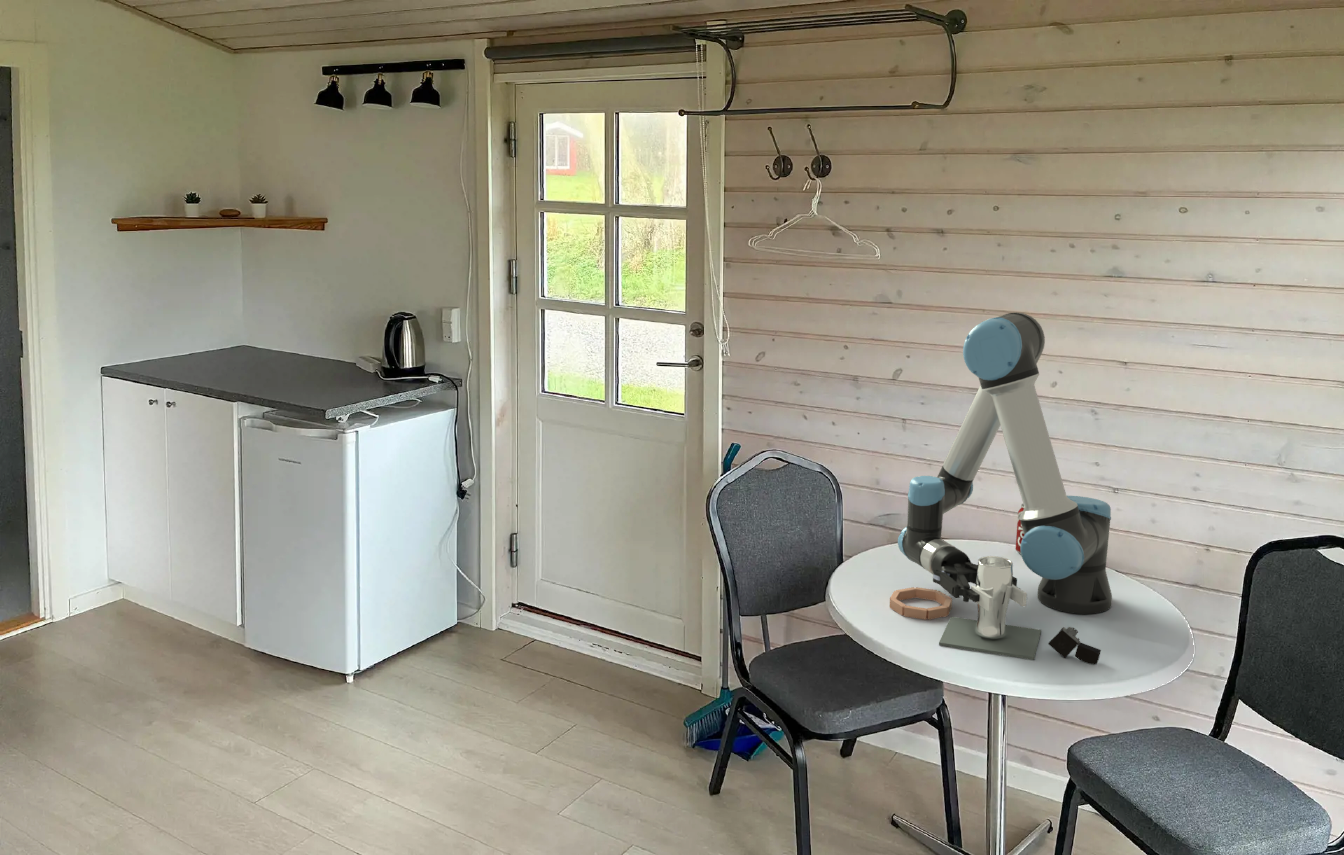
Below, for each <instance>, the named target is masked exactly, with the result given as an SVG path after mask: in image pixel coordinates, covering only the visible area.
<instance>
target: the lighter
mask: <svg viewBox="0 0 1344 855" xmlns="http://www.w3.org/2000/svg"><path fill="white" fill-rule="evenodd" d="M1078 633H1079V631H1078V630H1077V629H1076V628H1075V627H1072V626H1068V627H1067V628H1066V627H1064V626H1063V627H1061V629H1060V630H1059V631H1058V632H1057V634H1056V635H1055V636H1054V637H1053V638H1052V639H1050V641H1049V642H1048V643H1047V645H1049V646H1050V647H1051V648H1052V649H1053V650H1054V651H1056V652H1057V653H1058V654H1059V655H1060V656H1061V657H1063V658H1064V659H1066V658H1067V657H1068V656H1069V655H1070V653H1072V651H1073V650H1075V649H1076V651H1075V654H1074V657H1075V658H1076V659H1078V660H1079V661H1080V662H1083V663H1086V664H1089V665H1097V663H1098V662H1099V658H1100V655H1101V652H1102V650H1101V649H1099V648H1096V647H1094V646H1092V645H1088V644H1087V643H1083V642H1081V640H1080V638H1079V637H1077V635H1078Z"/></svg>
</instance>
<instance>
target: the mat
mask: <svg viewBox="0 0 1344 855" xmlns="http://www.w3.org/2000/svg"><path fill="white" fill-rule="evenodd" d="M976 623H977V619H972V618H971V619H970V618H964V617H963V618H962V617H957V616H950V618H949V620H948V622H947V625H946V626H945V628H944V631H943V633H942V635H941V637H940V639H939V642H938V646H940V647H942V646H943V647H946V648H947V647H948V648H952V649H953V648H954V649H961V650H966V651H967V650H968V651H972V652H973V651H974V652H980V653H985V654H986V653H987V654H993V655H999V656H1004V657H1012V658H1018V659H1025V660H1031V661H1035V657H1036V653H1037V649H1038V645H1039V642H1040V637H1041V634H1042V629H1038V628H1032V627H1024V626H1018V625H1012V624H1011V625H1010V624H1006V636H1005V637H1003V638H999V639H990V638H985V637H982V636H979V635H978V634H976V632H975V627H976Z"/></svg>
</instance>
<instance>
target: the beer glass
mask: <svg viewBox="0 0 1344 855" xmlns="http://www.w3.org/2000/svg"><path fill="white" fill-rule="evenodd" d="M977 561H978V562H977V565H978V567H977V574H976V584H975V586H976V587H977V588H979V589H981V590H982V591H984V592H985V593H987V594H988V595H990V596H991V597H993V604H992V611H988V610H986V609H985V608H983V607H982V606H980V605H979V604H977V603H976V604H977V619H976V620H977V623H976V627H975V632H976V634H978V635H979V636H982V637H985V638H990V639H999V638H1003V637H1005V636H1006V625H1007V624H1006V618H1007V617H1006V616H1007V610H1008V606H1009V604H1010V600H1011V599H1010V596H1011V591H1012V583H1013V577H1014V576H1013V575H1014V572H1013V567H1014V565H1013V564H1014V563H1013V561H1012V560H1010V559H1009V558H1006V557H1002V556H995V555H993V556H992V555H987V556H983V557H980V558H979V559H978V560H977Z"/></svg>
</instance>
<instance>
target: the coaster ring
mask: <svg viewBox="0 0 1344 855" xmlns="http://www.w3.org/2000/svg"><path fill="white" fill-rule="evenodd" d="M910 599H921V600H929V601H934V602H936V603H938V604H940V605H937V606H934V607H933V606H932V607H918V606H911V605H906V604H905V603H904V602H902V601H906V600H910ZM952 608H953V597H950V596H949V595H948V594H946V593H943V592H942V591H941V590H937V589H933V588H926V587H919V586H917V587H916V586H915V587H914V586H913V587H912V586H911V587H907V588H902V589H896V590H894V591H893V592H892V594H891V596H890V598H889V609H891V610H892V611H894V612H896V613H897V614H899V615H900V616H902V617H905V618H911V619H918V620H924V621H925V620H935V619H939V618H940V619H941V618H944V617H948V616H949V615H950V613H951V610H952Z"/></svg>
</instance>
